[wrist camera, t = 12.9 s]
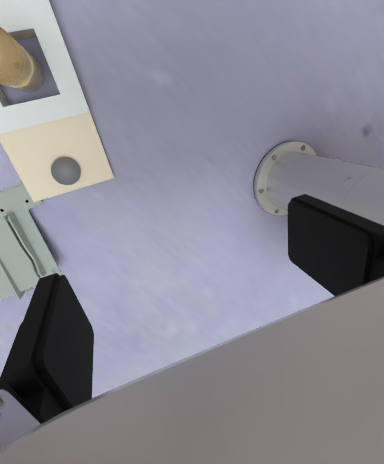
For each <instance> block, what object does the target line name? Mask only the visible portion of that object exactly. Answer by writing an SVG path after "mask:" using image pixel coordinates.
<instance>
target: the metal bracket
mask: <svg viewBox="0 0 384 464" xmlns="http://www.w3.org/2000/svg"><path fill="white" fill-rule="evenodd" d="M26 200H28V201H29V202H28V203H27V202H26ZM41 204H42V200H40V201H36V202H33V200H32V198H31V196H30V195H29V193H28V191H27V189H26V187H25V186H24V184H23V182H22V183H19V184H16V185H13V186H10V187H7V188H4V189H3V190H2V191H1V192H0V300H2V299H5V298H7V297H10V296H12V295H14V294H15V295H16V297H17V299H18V300H20V299H21V298H22V296H23V294H24V293H25V291H26V289H27V291H30V290H32V289H33V288H32V287H33V286H36V285H37V283H38V280H39V278H42V277H45V276H48V275H51V274H54V273H58V274H59V275H60V274H61V271H60V269H59V267H58V266H57V264H56V262H55V260H54V258H53V256H52V254H51V252H50V250H49V249H48V247H47V245H46V243H45V241H44V239H43V237H42V235H41V233H40V232H39V230H38V228H37V226H36V224H35V222H34V220H33V218H32V216H31V215H30V213H29V209H30V208H33V207H35V206H38V205H41ZM1 209H3V210H4V211H3V212H1ZM54 268H55V269H56V270H57V271H56V272H53V269H54Z"/></svg>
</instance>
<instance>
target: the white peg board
mask: <svg viewBox="0 0 384 464" xmlns="http://www.w3.org/2000/svg"><path fill="white" fill-rule="evenodd" d="M0 27H1V28H3V29H4V30H5V31H6V32H7V33H8V34H9V35H10V36H11V37H12V38H13V39H15V40H17V39H23V38H28V37H34V36H37V38H38V40H39V43H40V45H41V48H42V50H43V53H44V55H45V58H46V60H47V62H48V65H49V67H50V70H51V72H52V75H53V77H54V80H55V82H56V85H57V87H58V90H59V92H60V94H59V95H55V96H51V97H46V98H42V99H37V100H33V101H28V102H24V103H19V104H15V105H11V106H10V105H9V103H8V101H7V99H6V97H5V95H4V93H3V91H2V89H1V87H0V142H1V144H2V146H3V147H4V149H5V151H6V153H7V155H8V157H9V158H10V160H11V162H12V164H13V166H14V167H15V169H16V171H17V173H18V175H19V176H20V178H21V180H22V182H23V184H24V186H25V187H26V189H27V191H28V193H29V195H30V196H31V198H32V200H33V202H36V201H40V200H43V199H46V198H50V197H53V196H56V195H59V194H63V193H66V192H69V191H73V190H76V189H79V188H83V187H86V186H89V185H93V184H96V183H99V182H102V181H106V180H109V179H112V178H114V176H113V173H112V171H111V168H110V165H109V162H108V160H107V157H106V154H105V152H104V149H103V146H102V143H101V141H100V138H99V135H98V133H97V130H96V127H95V124H94V122H93V119H92V116H91V114H90V111H89V108H88V105H87V103H86V100H85V97H84V94H83V92H82V89H81V86H80V84H79V81H78V78H77V75H76V73H75V70H74V67H73V65H72V62H71V59H70V56H69V54H68V51H67V48H66V45H65V43H64V40H63V37H62V35H61V32H60V29H59V26H58V24H57V21H56V18H55V16H54V13H53V10H52V7H51V5H50V2H49V0H0Z"/></svg>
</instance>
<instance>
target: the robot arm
mask: <svg viewBox="0 0 384 464" xmlns="http://www.w3.org/2000/svg"><path fill="white" fill-rule="evenodd" d="M254 193H255V197H256V200H257V202H258V204H259V205H260V207H261V208H262V209H264V210H265V211H266V212H268V213H270V214H272V215H278V216H282V215H287V214H288V255H289V258H290V260H291V261H292V262H293V263H294V264H295V265H296V266H298V267H299V268H300V269H301V270H303V271H304V272H305V273H306V274H308V275H309V276H310V277H312V278H313V279H314V280H315V281H317V282H318V283H319V284H320V285H322V286H323V287H324V288H325V289H327V290H328V291H329V292H330V293H332V294H333V295H334V296H335V297H332V298H330V299H327V300H325V301H322V302H320V303H318V304H315V305H313V306H310V307H308V308H305V309H303V310H300V311H298V312H296V313H293V314H291V315H288V316H286V317H284V318H281V319H279V320H276V321H274V322H271V323H269V324H267V325H264V326H262V327H259V328H257V329H255V330H252V331H250V332H247V333H245V334H242V335H240V336H238V337H235V338H233V339H230V340H228V341H226V342H223V343H221V344H218V345H216V346H214V347H211V348H209V349H207V350H204V351H202V352H199V353H197V354H195V355H192V356H190V357H188V358H185V359H183V360H180V361H178V362H176V363H173V364H171V365H169V366H166V367H164V368H161V369H159V370H157V371H154V372H152V373H149V374H147V375H145V376H142V377H140V378H138V379H135V380H133V381H131V382H128V383H126V384H124V385H121V386H119V387H117V388H114V389H112V390H110V391H108V392H105V393H103V394H101V395H99V396H97V397H95V398H92V373H93V344H94V333H93V329H92V326H91V324H90V322H89V320H88V318H87V316H86V314H85V312H84V311H83V309H82V307H81V305H80V303H79V301H78V299H77V297H76V295H75V293H74V291H73V289H72V288H71V286H70V284H69V282H68V280H67V278H66V276H65V275H61V276H60V275H59V274H58V273H54V274H51V275H48V276H45V277H42V278H39V280H38V283H37V285H36V288H35V291H34V293H33V296H32V299H31V301H30V304H29V307H28V309H27V312H26V315H25V318H24V320H23V322H22V323H21V325H20V327H19V330H18V332H17V335H16V337H15V340H14V343H13V345H12V348H11V351H10V353H9V356H8V359H7V361H6V364H5V366H4V369H3V372H2V374H1V377H0V464H384V170H383V169H378V168H374V167H369V166H364V165H359V164H354V163H350V162H345V161H340V160H339V159H338V158H333V159H330V158H325V157H321V156H317V154H316V153H315V151H314V150H313V149H312V147H311V146H309V145H308V144H306V143H303V142H298V141H288V142H285V143H282V144H280V145H278V146H276V147H275V148H273V149H272V150H271V151H270V152H269V153H268V154H267V155H266V156H265V157H264V159H263V160H262V162H261V164H260V165H259V168H258V170H257V173H256V176H255V181H254Z"/></svg>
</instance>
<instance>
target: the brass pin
mask: <svg viewBox="0 0 384 464" xmlns="http://www.w3.org/2000/svg"><path fill="white" fill-rule="evenodd" d="M43 82H44V72H43V69H42V67H41V65H40V64H39V62H38V61H37V60H36V59H35V58H34V57H33V56H32V55H31V54H29V53H28V52H27V51H26V50H25V49H24V48H23V47H22V46H21V45H20V44H19V43H18V42H17V41H16V40H15V39H13V38H12V37H11V36H10V35H9V34H8V33H7V32H6V31H5V30H4V29H3V28H1V27H0V84H1V85H5V86H8V87H12V88H16V89H19V90H23V91H27V92H32V91H36V90H38V89H39V88H40V87H41V86H42V85H43Z"/></svg>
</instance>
